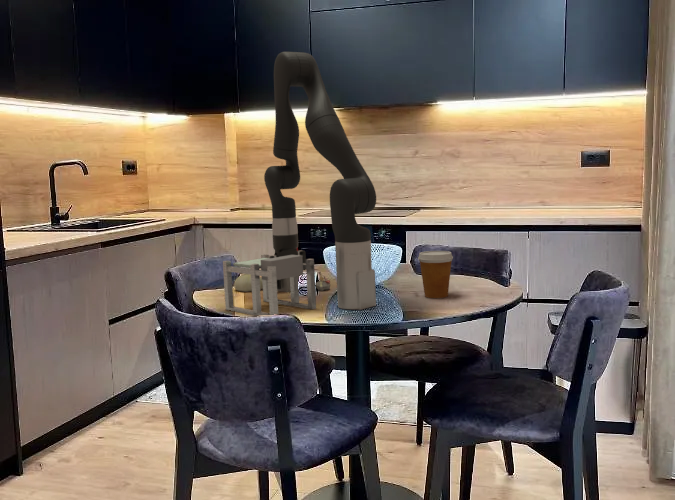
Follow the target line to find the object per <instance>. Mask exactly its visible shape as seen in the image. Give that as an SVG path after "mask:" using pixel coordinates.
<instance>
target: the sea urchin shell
mask: <svg viewBox="0 0 675 500" xmlns="http://www.w3.org/2000/svg"><path fill="white" fill-rule="evenodd" d="M233 284H234V285H233V286H234V289H235V290H237V291H239V292H244V293H247V292H252V284H251V274H241V275H239V276H238V277H237V278H236V279H235V281H234V282H233ZM261 290H263V283H262V276H260V291H261Z"/></svg>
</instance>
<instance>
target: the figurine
mask: <svg viewBox="0 0 675 500" xmlns="http://www.w3.org/2000/svg"><path fill="white" fill-rule="evenodd" d="M318 275H319V281H317V282H315V289H317V290H318V291H321V292H323V291H329V290H330V287H331V284H330V283H331V280H330V279H329V277H327V276H325V275H323V274H322V272H321V271H319V272H318Z"/></svg>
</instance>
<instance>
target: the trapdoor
mask: <svg viewBox="0 0 675 500" xmlns="http://www.w3.org/2000/svg"><path fill="white" fill-rule="evenodd" d="M232 264H233V267H241V268H249V269H251V267H250V264H259V266H261V268H260V270H265V271H267V266H276V278H277V280H280V279H285V278H290V277H295V276H300V275H301V276H303V275H304V270H303V259H302V256H300V255H287V256H281V257H275V258H261V257H260V258H256V259H251V260H243V261H237V262H233V263H232ZM261 278H262V280H268V277H266V276H261Z"/></svg>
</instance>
